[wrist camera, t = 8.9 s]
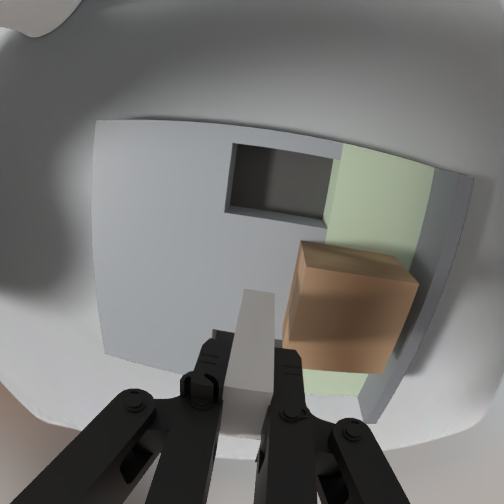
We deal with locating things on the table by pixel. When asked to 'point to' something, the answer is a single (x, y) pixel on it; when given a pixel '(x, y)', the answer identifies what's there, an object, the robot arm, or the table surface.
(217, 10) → the table surface
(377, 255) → the block
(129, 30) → the table surface
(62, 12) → the mug
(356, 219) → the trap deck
